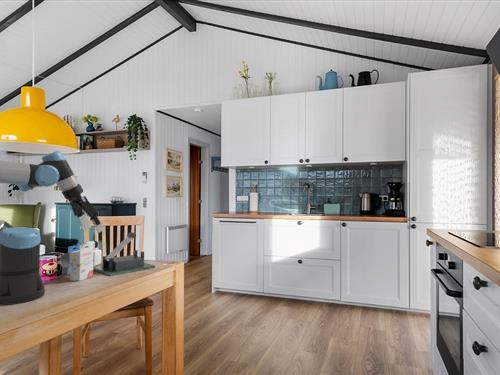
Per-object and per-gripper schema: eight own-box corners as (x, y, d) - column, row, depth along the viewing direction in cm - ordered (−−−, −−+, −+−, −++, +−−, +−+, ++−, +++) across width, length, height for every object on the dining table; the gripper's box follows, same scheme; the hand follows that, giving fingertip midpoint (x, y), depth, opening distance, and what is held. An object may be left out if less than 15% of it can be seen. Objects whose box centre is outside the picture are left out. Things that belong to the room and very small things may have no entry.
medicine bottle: (87, 263, 168) (88, 240, 169) (101, 263, 168) (101, 240, 169) (80, 266, 161) (80, 241, 162) (94, 266, 161) (94, 242, 161)
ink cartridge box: (83, 275, 142) (84, 241, 143) (93, 276, 141) (94, 242, 142) (68, 280, 134) (69, 244, 134) (79, 281, 133) (80, 245, 133)
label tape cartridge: (73, 270, 153) (74, 243, 153) (81, 270, 153) (81, 243, 153) (59, 274, 144) (60, 246, 145) (67, 274, 144) (68, 246, 144)
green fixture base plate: (110, 276, 142) (110, 258, 142) (92, 269, 154) (93, 253, 154) (155, 268, 158) (155, 252, 158) (136, 262, 170) (136, 248, 170)
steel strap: (110, 262, 149) (107, 259, 148) (105, 260, 152) (102, 257, 151) (136, 236, 158) (134, 232, 158) (132, 235, 161) (129, 232, 160)
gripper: (90, 182, 130) (115, 227, 138) (67, 183, 147) (90, 223, 154) (73, 191, 125) (99, 237, 133) (51, 191, 142) (75, 232, 150)
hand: (94, 229), depth 144 cm, fingers open, 13 cm apart
